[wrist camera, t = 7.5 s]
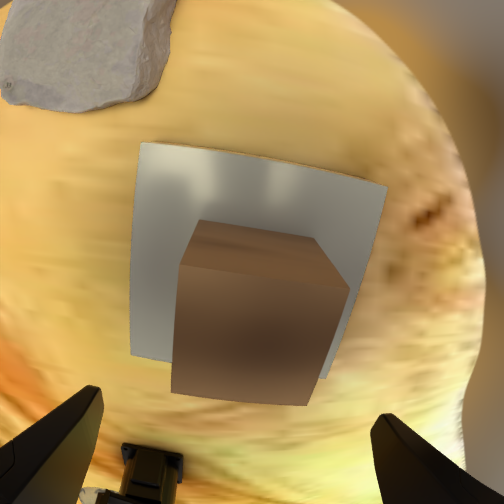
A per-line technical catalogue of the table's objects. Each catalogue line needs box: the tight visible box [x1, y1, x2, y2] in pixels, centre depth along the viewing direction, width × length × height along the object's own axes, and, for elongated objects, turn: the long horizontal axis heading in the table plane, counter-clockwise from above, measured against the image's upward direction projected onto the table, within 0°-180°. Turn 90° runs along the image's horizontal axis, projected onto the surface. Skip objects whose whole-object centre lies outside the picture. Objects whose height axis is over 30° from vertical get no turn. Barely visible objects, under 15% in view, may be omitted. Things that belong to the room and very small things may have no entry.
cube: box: [171, 219, 350, 406], centre depth 15 cm, size 6×6×6 cm
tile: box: [130, 141, 388, 379], centre depth 19 cm, size 13×13×3 cm
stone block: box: [0, 0, 177, 113], centre depth 14 cm, size 12×5×10 cm
